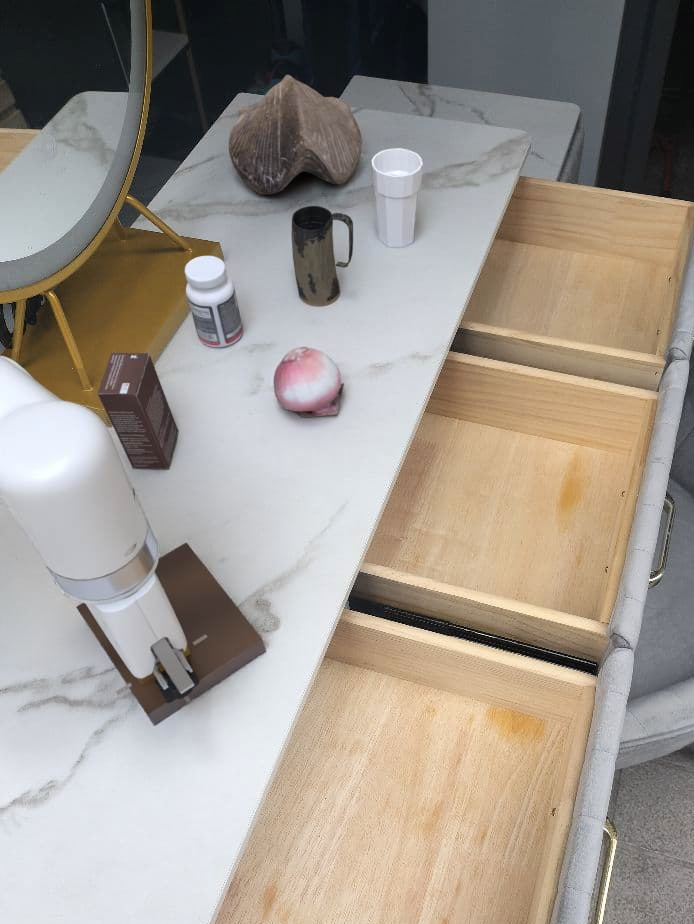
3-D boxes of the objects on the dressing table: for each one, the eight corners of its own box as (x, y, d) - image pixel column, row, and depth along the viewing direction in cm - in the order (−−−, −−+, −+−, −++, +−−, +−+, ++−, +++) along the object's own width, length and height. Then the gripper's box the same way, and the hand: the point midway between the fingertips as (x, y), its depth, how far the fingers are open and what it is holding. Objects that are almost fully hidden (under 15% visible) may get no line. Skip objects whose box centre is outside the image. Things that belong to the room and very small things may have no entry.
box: (140, 430, 94) (109, 350, 84) (179, 431, 93) (153, 351, 84) (128, 470, 90) (95, 392, 80) (168, 472, 90) (140, 394, 80)
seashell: (213, 99, 119) (268, 41, 108) (305, 126, 130) (364, 76, 119) (230, 205, 119) (287, 158, 108) (321, 223, 130) (382, 181, 119)
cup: (413, 219, 117) (414, 145, 108) (426, 246, 113) (428, 172, 104) (368, 226, 116) (366, 152, 107) (380, 254, 112) (378, 180, 103)
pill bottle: (237, 314, 105) (224, 248, 97) (248, 343, 102) (235, 276, 94) (193, 324, 104) (175, 258, 96) (203, 353, 101) (186, 288, 93)
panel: (73, 625, 79) (64, 612, 77) (191, 555, 84) (185, 540, 82) (149, 742, 72) (141, 731, 70) (272, 659, 77) (269, 646, 75)
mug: (290, 301, 107) (280, 219, 97) (306, 275, 110) (297, 193, 100) (348, 313, 105) (343, 231, 95) (361, 287, 108) (358, 205, 98)
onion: (317, 370, 99) (312, 324, 93) (358, 405, 96) (355, 359, 90) (264, 401, 96) (255, 355, 90) (304, 438, 93) (297, 393, 87)
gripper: (2, 499, 61) (78, 615, 76) (110, 665, 54) (171, 758, 68) (94, 452, 64) (150, 573, 78) (209, 603, 56) (248, 706, 71)
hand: (160, 658), depth 73 cm, fingers open, 7 cm apart
